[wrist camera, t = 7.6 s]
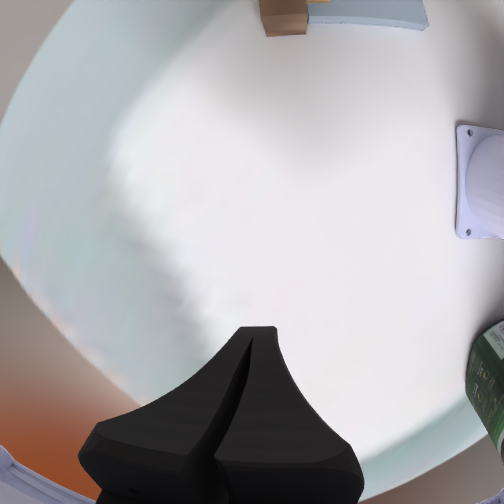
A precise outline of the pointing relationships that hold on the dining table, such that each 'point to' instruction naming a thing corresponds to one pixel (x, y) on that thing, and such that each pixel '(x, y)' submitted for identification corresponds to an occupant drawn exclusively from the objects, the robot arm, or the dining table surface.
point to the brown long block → (285, 16)
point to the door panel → (370, 13)
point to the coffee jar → (488, 382)
